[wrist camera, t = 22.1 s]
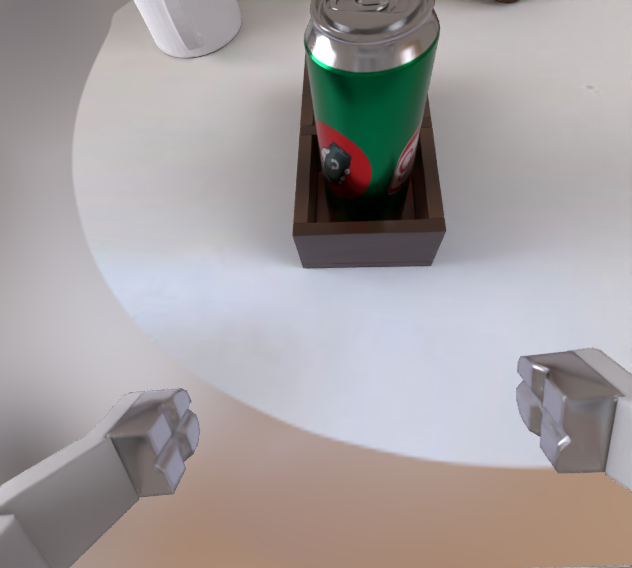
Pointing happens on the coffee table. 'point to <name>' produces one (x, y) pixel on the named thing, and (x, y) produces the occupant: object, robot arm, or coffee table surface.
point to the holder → (366, 236)
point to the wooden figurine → (507, 0)
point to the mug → (190, 24)
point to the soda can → (369, 99)
